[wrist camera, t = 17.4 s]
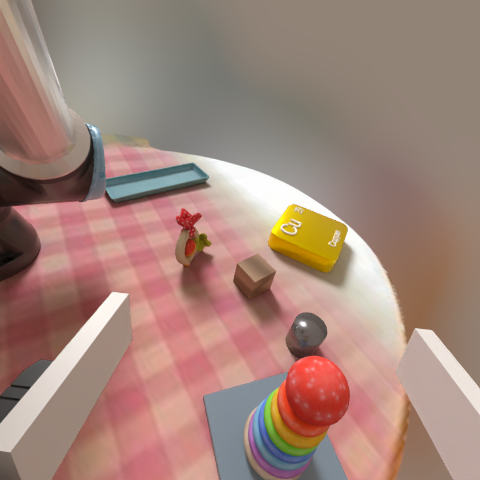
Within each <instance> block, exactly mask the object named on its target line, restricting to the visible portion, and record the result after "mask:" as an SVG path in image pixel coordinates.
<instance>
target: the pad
mask: <svg viewBox="0 0 480 480" xmlns="http://www.w3.org/2000/svg"><path fill="white" fill-rule="evenodd" d="M287 374H288V372H286V373H282V374H279V375H275V376H272V377H268V378H265V379H261V380H257V381H254V382H250V383H247V384H243V385H240V386H236V387H232V388H229V389H225V390H222V391H218V392H215V393H211V394H207V395H204V397H203V400H204V405H205V410H206V415H207V420H208V425H209V430H210V435H211V440H212V445H213V450H214V455H215V460H216V465H217V470H218V475H219V480H265V479H264V478H262V477H261V476H260V475H259V474H258V473H257V472H256V471H255V470H254V469H253V467H252V466H251V464H250V462H249V460H248V458H247V455H246V452H245V448H244V441H243V435H244V427H245V424H246V421H247V419H248V417H249V415H250V414H251V412H252V411H253V410H254V409H255V408H256V407H258V406H259V405H260V403H261V402H262V401H263V400H264V399H266V398H267V397H268V396H269V395H270V394H271V393H272V392H273V391H274V390H276V389H277V388H279V387H280V386H281V384H282V383H283V382H284V381H285V380H286V378H287ZM296 480H348V479H347V477H346V475H345V472H344V470H343V468H342V466H341V464H340V461H339V459H338V457H337V455H336V453H335V450H334V448H333V446H332V444H331V442H330V439H329V437H328V435H327V433H326V436H325V437H324V439H323V440H322V441H321V442H320V444H319V445H318V447H317V449H316V451H315V452H314V454H313V457H312V460H311V462H310V464H309V466H308V467H307V469H306V470H305V471H304V472H303V473H302V474H301V475H300V476H299V477H298V478H297V479H296Z"/></svg>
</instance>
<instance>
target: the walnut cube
mask: <svg viewBox="0 0 480 480" xmlns="http://www.w3.org/2000/svg"><path fill="white" fill-rule="evenodd" d="M275 273H276V271H275V270H274V269H273V268H272V267H271V266H270V265H269V264H268V263H267V262H266V261H265V260H264V259H263V258H262V257H261V256H260V255H259V254H256V255H254V256H252V257H250V258H248V259H245V260H243V261H241V262H239V263H237V266H236V271H235V276H234V280H233V281H234V282H235V284H236V285H237V286H238V287H239V288H240V289H241V290H242V291H243V293H244V294H245V295H246V296H247V297H248V298H249V299H252V298H254V297H255V296H257V295H259V294H261V293H263V292H264V291H266V290H268V289H270V287H271V284H272V281H273V278H274V276H275Z"/></svg>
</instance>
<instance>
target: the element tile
mask: <svg viewBox="0 0 480 480" xmlns="http://www.w3.org/2000/svg"><path fill="white" fill-rule="evenodd" d="M347 231H348V229H347V227H346V225H345V224H343V223H341V222H338V221H336V220H333V219H331V218H328V217H326V216H323V215H321V214H318V213H316V212H313V211H311V210H308V209H306V208H303V207H301V206H298V205H295V204H293V205H290V206H288V208H287V209H286V211H285V212H284V213H283V215H282V216H281V217H280V219H279V220H278V222H277V223H276V224H275V226H274V227H273V229H272V231H271V234H270V238H269V241H268V245H269V247H270V248H271V249H273V250H275V251H277V252H279V253H282V254H284V255H286V256H288V257H290V258H293V259H295V260H297V261H299V262H301V263H304V264H306V265H308V266H310V267H312V268H314V269H317V270H319V271H321V272H330V271H331V270H332V268H333V267H334V265H335V263H336V261H337V259H338V258H339V255H340V252H341V249H342V246H343V243H344V240H345V237H346V234H347Z"/></svg>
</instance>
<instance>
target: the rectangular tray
mask: <svg viewBox="0 0 480 480" xmlns="http://www.w3.org/2000/svg"><path fill="white" fill-rule="evenodd" d="M208 178H209V176H208V175H207V174H206V173H205V172H204V171H203V170H202V169H200V168H199V167H198V166H197V165H196V164H195V163H188V164H183V165H177V166H172V167H167V168H161V169H156V170H151V171H145V172H140V173H134V174H129V175H123V176H118V177H112V178H107V179H106V191H107V193H108V194H109V196H110V198H111V199H112V200H113V201H114V202H121V201H126V200H130V199H135V198H139V197H144V196H148V195H153V194H157V193H162V192H166V191H170V190H175V189H179V188H183V187H188V186H192V185H196V184H200V183H204V182H205V181H206V180H207V179H208Z"/></svg>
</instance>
